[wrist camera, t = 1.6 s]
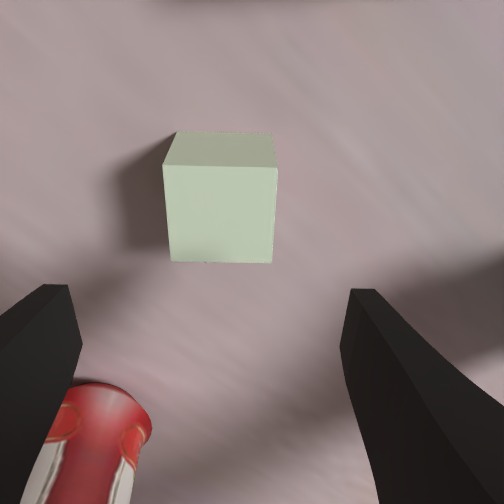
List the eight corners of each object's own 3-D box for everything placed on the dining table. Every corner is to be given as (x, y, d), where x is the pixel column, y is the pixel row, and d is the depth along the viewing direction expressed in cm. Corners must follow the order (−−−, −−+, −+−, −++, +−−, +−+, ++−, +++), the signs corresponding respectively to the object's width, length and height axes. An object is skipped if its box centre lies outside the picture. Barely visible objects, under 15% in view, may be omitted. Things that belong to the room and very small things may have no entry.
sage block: (271, 132, 18) (278, 167, 15) (267, 216, 20) (271, 263, 17) (177, 130, 18) (162, 164, 15) (183, 214, 20) (170, 261, 17)
